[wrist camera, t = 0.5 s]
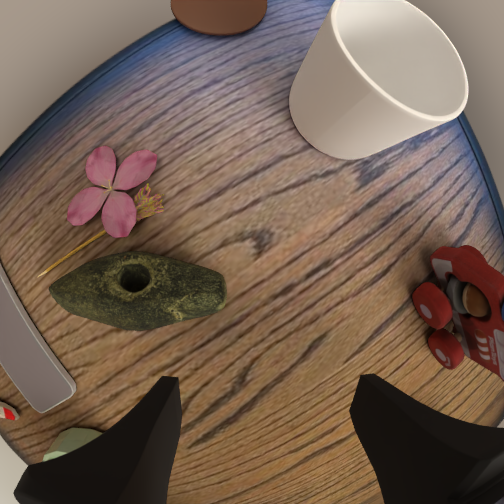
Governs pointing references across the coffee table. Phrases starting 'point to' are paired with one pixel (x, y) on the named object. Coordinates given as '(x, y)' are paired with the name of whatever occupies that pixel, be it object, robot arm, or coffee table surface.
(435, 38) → the mug
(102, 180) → the flower
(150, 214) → the decorative arrow
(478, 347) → the toy fire truck
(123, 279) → the decorative stone
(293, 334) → the coffee table surface
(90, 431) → the bowl
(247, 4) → the brown round coaster
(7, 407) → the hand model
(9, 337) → the smartphone
